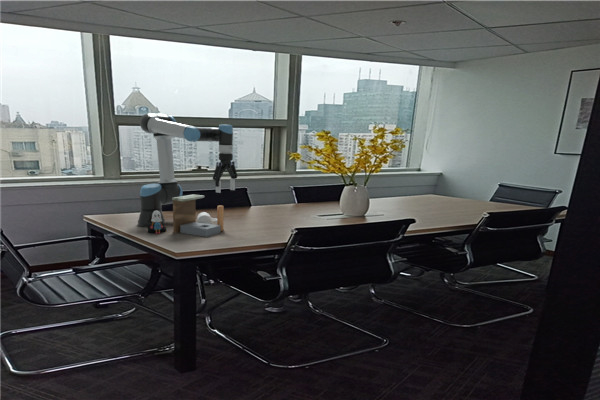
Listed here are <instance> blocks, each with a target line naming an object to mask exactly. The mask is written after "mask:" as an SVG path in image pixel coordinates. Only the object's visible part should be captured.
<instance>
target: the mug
mask: <svg viewBox="0 0 600 400" xmlns="http://www.w3.org/2000/svg"><path fill="white" fill-rule="evenodd" d="M196 222H200V223H207V224H213V223H217V218H216V217H215V218H214V217H211V215H210V213H208V212H205V211H201V212H200V213H198V214H197V217H196Z"/></svg>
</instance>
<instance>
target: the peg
mask: <svg viewBox="0 0 600 400" xmlns="http://www.w3.org/2000/svg"><path fill="white" fill-rule="evenodd" d="M216 208H217V216H216V217H217V218H216V219H217V222H216V223H217V224H216V225H220V232H223V231H224V225H225V223H224V221H225V220H224V211H225V209H224V205H217V207H216Z"/></svg>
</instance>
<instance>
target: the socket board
mask: <svg viewBox="0 0 600 400" xmlns="http://www.w3.org/2000/svg"><path fill="white" fill-rule="evenodd" d="M179 233H180V234H187V235H193V236H200V237H211V236H215V235H217V234H220V233H221V231H220V225H217V224H213V223H212V224H207V223H200V222H197V221H196V222H192V223H188V224H184V225H180V232H179Z"/></svg>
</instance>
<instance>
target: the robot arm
mask: <svg viewBox="0 0 600 400" xmlns="http://www.w3.org/2000/svg"><path fill="white" fill-rule="evenodd" d="M139 126H140V129H142V131H144V132H145V133H148V134H152V135H153V138H154V139H155V140H156V149H157V159H158V172H159V181H157V183H149V184H144V185H141V187H140V191H139V196H140V197H139V200H140V201H139V202H140V213H139V217H138V220H137V226H139V227H143V228H144V227H145V228H148V227H151V226H152V222H153V221H151V220H152V214H153V212H154V211H156V210H157V211H159V212H160V213H161V219H162V221H161V224H162V226H164V225H166V220H165V218H164V214H163V211H162V209H163V208H162V206H165V205H171V204H172V205H173V200H172V198H174V197H180V196H183V188H182V187H181V185H180V184H178V183H179V182H178V180H177V179H176V178H175V176H176V175H175V167H174V155H173V154H174V153H173V146H172V145H173V143H172V139H173V138H174V137H176V138H179V139H185V140H186V141H187V142H191V143H193V142H215V143H217V142H218V160H219V161H220V162H219V161H217V162H216V165H215V170H214V173H213V176H212V180H213V181H215V193H219V194H221V193H222V192H221V190H222V187H221V184H222V182H221V178H222V176H223V174H224V172H225V171H227V173H228V175H229V176H230V178H229V190H230V191H236V185H235V184H236V180H237V178H238V173H237V169H236V165H235V161H234V160H233V159H234V157H233V153H234V152H233V140H234V139H233V137H234V132H233V131H234V129H233V125H231V124H225V123H224V124H223V123H222V124H219V125H218V127H209V126H207V127H201V126H200V127H199V126H193V125H188V124H182V123H180V122H179V123H178V122H177V121H176V119H175V117H174V116H173V115H170V114H166V113H156V112H155V113H153V112H149V113H145V114H143V115H142V116H141V117H140V120H139ZM155 223H156V222H154V224H153V226H154V225H155Z"/></svg>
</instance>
